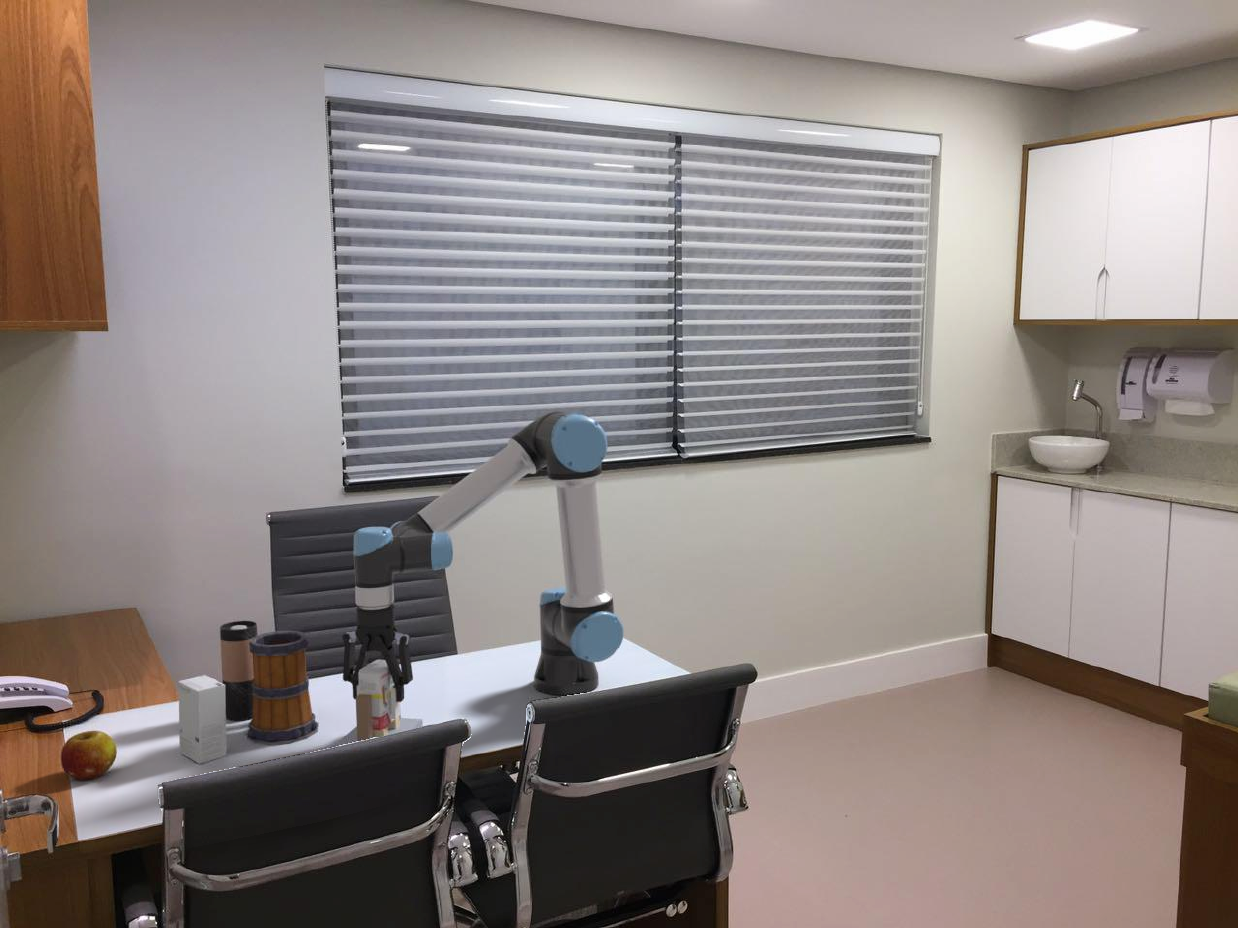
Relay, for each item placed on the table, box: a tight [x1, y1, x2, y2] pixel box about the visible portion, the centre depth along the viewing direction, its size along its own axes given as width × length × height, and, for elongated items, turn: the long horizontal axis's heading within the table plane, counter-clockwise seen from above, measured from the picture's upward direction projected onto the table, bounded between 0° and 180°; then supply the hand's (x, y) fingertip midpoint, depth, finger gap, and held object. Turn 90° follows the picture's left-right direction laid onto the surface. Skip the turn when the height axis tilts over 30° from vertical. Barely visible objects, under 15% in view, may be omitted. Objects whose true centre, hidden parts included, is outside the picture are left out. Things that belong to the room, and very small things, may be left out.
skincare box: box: [177, 674, 227, 764], centre depth 199 cm, size 8×6×15 cm
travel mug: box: [219, 620, 258, 722], centre depth 220 cm, size 8×8×20 cm
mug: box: [245, 630, 319, 746], centre depth 213 cm, size 19×14×20 cm
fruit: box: [60, 730, 118, 781], centre depth 191 cm, size 10×9×8 cm
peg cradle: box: [334, 694, 423, 747], centre depth 207 cm, size 12×16×12 cm
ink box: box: [358, 659, 395, 730], centre depth 206 cm, size 9×5×12 cm, turn 166°
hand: (379, 715), depth 207 cm, fingers open, 7 cm apart
